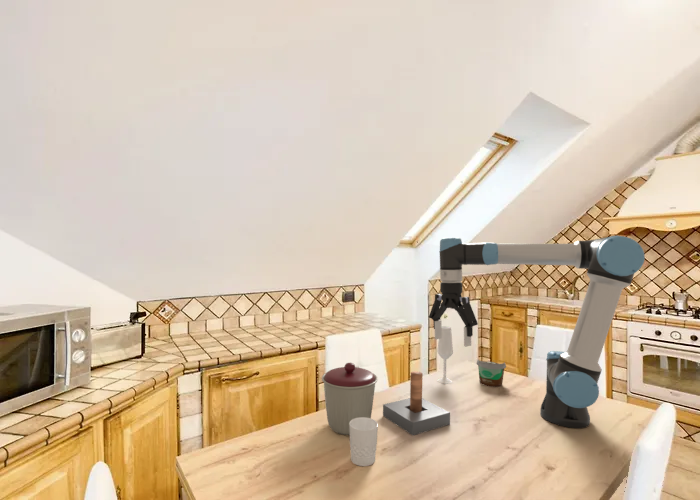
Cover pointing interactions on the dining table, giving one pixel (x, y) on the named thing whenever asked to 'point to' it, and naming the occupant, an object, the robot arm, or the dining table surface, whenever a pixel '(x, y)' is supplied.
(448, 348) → the champagne flute
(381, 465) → the dining table surface
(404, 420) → the socket block
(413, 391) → the peg
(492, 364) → the food container
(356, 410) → the canister
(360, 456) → the white cup
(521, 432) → the dining table surface
